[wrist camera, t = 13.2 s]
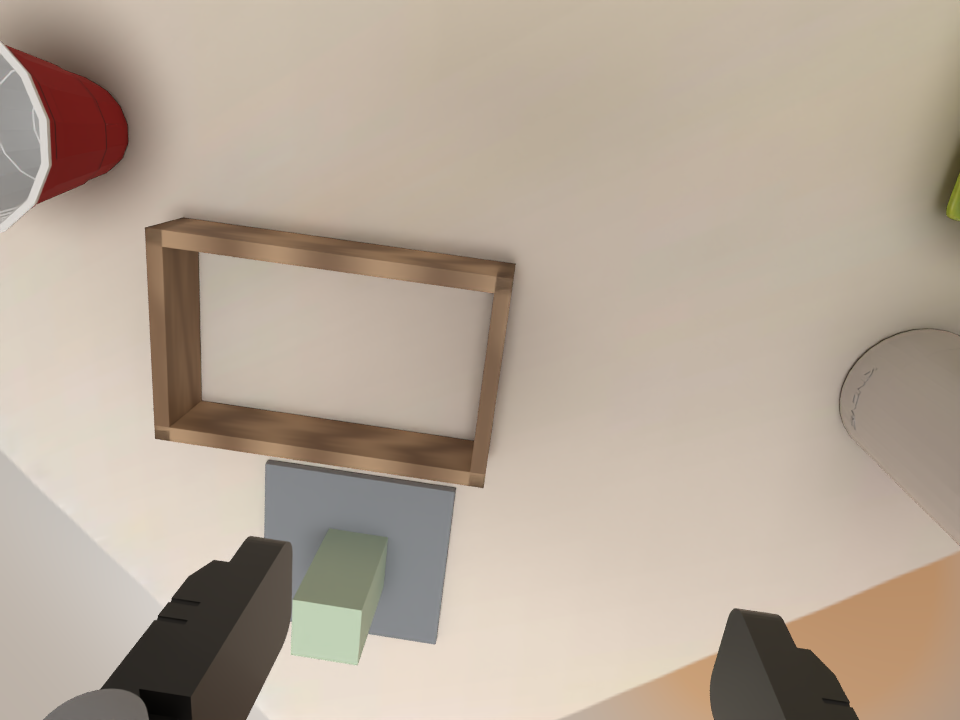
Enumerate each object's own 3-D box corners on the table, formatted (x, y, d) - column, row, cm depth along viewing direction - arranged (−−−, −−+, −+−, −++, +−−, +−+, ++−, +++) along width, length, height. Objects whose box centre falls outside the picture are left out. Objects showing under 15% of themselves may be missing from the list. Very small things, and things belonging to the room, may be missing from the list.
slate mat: (455, 487, 49) (454, 492, 48) (436, 638, 53) (435, 644, 53) (268, 459, 49) (265, 463, 49) (266, 612, 54) (263, 617, 53)
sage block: (388, 537, 50) (361, 610, 42) (383, 586, 51) (357, 665, 44) (329, 528, 50) (292, 599, 42) (326, 577, 52) (290, 654, 44)
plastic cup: (204, 168, 42) (84, 184, 31) (73, 239, 45) (-83, 278, 33) (105, -4, 39) (-67, -55, 28) (-30, 81, 42) (-239, 66, 30)
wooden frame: (515, 263, 43) (513, 279, 39) (487, 455, 48) (483, 488, 43) (182, 217, 44) (145, 227, 39) (188, 411, 48) (155, 438, 44)
